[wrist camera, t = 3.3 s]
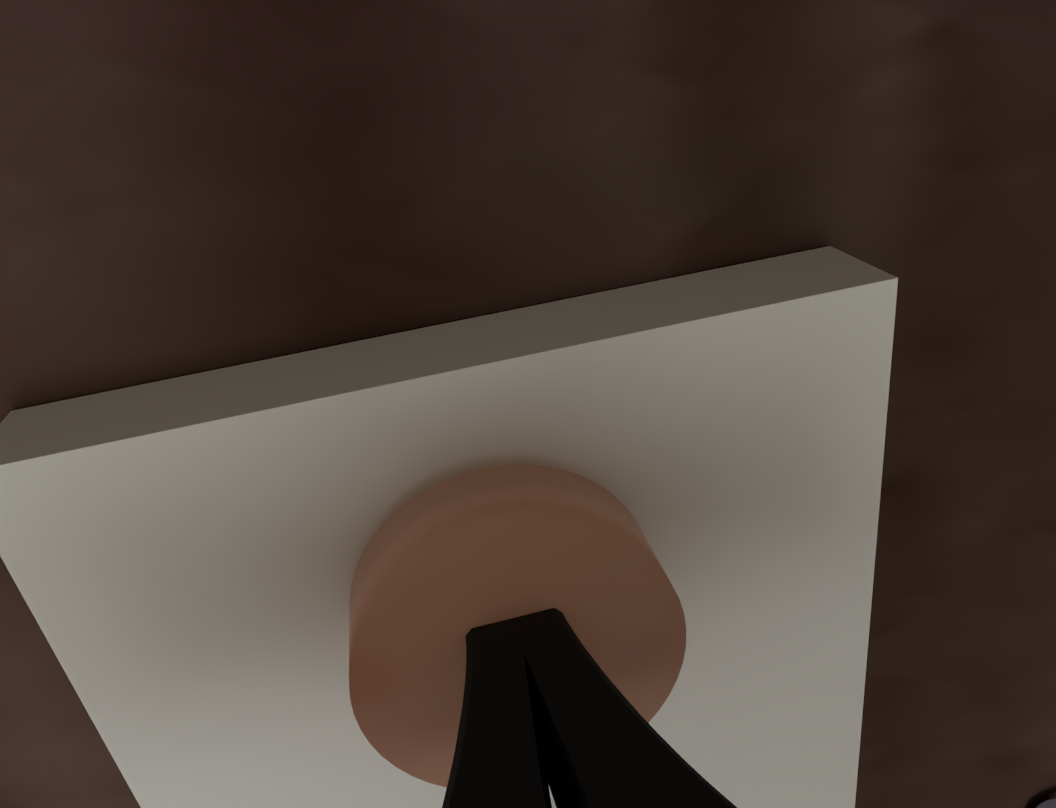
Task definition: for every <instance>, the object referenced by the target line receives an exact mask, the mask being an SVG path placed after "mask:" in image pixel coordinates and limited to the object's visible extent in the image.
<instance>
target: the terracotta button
mask: <svg viewBox="0 0 1056 808" xmlns="http://www.w3.org/2000/svg"><path fill="white" fill-rule="evenodd" d="M551 608H555V609H557V610H559V611H561V612H562V613H563V615H564V616H565V618H566V620H567V622H568V623H569V625H570V626H571V628H572V629H573V631H574V633H575V634H576V635H577V637H578V638H579V640H580V641H581V643H582V644H583V645H584V647H585V648H586V650H587V651H588V652H589V654H590V655H591V656H592V657H593V659H594V660H595V661H596V663H597V664H598V665H599V667H600V668H601V669H602V670H603V672H604V673H605V674H606V675H607V677H608V678H609V679H610V680H611V681H612V683H613V684H614V685H615V686H616V687H617V688H618V690H619V691H620V692H621V693H622V694H623V695H624V696H625V698H626V699H627V700H628V701H629V702H630V703H631V704H632V706H633V707H634V708H635V709H636V710H637V711H638V712H639V714H640V715H641V716H642V717H643V718H644V719H645V720H646V721H647V722H648V723H649V722H650V721H651V719H652V718H653V717H654V716H655V715H656V713H657V712H658V711H659V710H660V708H661V707H662V705H663V704H664V702H665V701H666V699H667V698H668V696H669V695H670V693H671V691H672V689H673V687H674V685H675V683H676V681H677V679H678V676H679V673H680V670H681V667H682V664H683V660H684V654H685V649H686V623H685V616H684V612H683V609H682V605H681V602H680V599H679V597H678V595H677V593H676V591H675V590H674V588H673V586H672V584H671V582H670V580H669V579H668V577H667V575H666V573H665V572H664V570H663V568H662V566H661V565H660V563H659V561H658V559H657V557H656V556H655V554H654V552H653V550H652V549H651V547H650V545H649V543H648V542H647V540H646V538H645V536H644V535H643V533H642V531H641V529H640V527H639V526H638V524H637V522H636V520H635V519H634V517H633V516H632V514H631V513H630V512H629V511H628V509H627V508H626V507H625V505H624V504H623V503H622V502H620V501H619V500H618V499H617V498H616V497H615V496H614V495H613V494H612V493H611V492H609V491H608V490H606V489H605V488H603V487H602V486H600V485H599V484H597V483H595V482H593V481H591V480H589V479H587V478H585V477H583V476H581V475H578V474H575V473H572V472H569V471H566V470H563V469H558V468H553V467H548V466H542V465H527V464H515V465H499V466H493V467H487V468H481V469H477V470H473V471H470V472H466V473H463V474H459V475H457V476H454V477H452V478H449V479H447V480H444V481H442V482H440V483H437V484H436V485H434V486H432V487H430V488H428V489H427V490H425V491H423V492H421V493H419V494H418V495H416V496H415V497H414V498H412V499H411V500H409V501H408V502H407V503H405V504H404V505H402V506H401V507H400V508H399V509H398V510H397V511H396V512H395V513H394V514H392V515H391V516H390V517H389V518H388V519H387V520H386V521H385V522H384V524H383V525H382V526H381V527H380V528H379V529H378V531H377V532H376V533H375V534H374V536H373V537H372V539H371V540H370V542H369V543H368V545H367V546H366V548H365V550H364V551H363V553H362V556H361V558H360V560H359V562H358V564H357V567H356V570H355V573H354V577H353V580H352V584H351V592H350V600H349V692H350V701H351V705H352V709H353V713H354V716H355V718H356V720H357V723H358V725H359V727H360V730H361V731H362V733H363V734H364V736H365V737H366V739H367V740H368V742H369V743H370V744H371V745H372V746H373V747H374V749H375V750H376V751H377V752H378V753H379V754H380V755H381V756H382V757H383V758H385V759H386V760H387V761H389V762H390V763H391V764H393V765H394V766H395V767H397V768H398V769H400V770H402V771H404V772H406V773H407V774H409V775H411V776H413V777H416V778H418V779H421V780H423V781H425V782H428V783H431V784H435V785H439V786H442V787H446V788H447V784H448V780H449V776H450V771H451V767H452V763H453V758H454V753H455V747H456V741H457V735H458V729H459V723H460V717H461V711H462V704H463V695H464V686H465V675H466V638H465V636H466V635H467V633H468V632H469V631H470V630H471V628H475V627H479V626H483V625H487V624H491V623H495V622H499V621H503V620H507V619H511V618H515V617H519V616H523V615H527V614H531V613H535V612H539V611H543V610H547V609H551Z"/></svg>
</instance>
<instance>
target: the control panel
mask: <svg viewBox="0 0 1056 808" xmlns="http://www.w3.org/2000/svg"><path fill="white" fill-rule="evenodd" d="M897 285H898V278H897V277H895V276H893V275H891V274H889V273H887V272H885V271H882V270H880V269H878V268H876V267H874V266H872V265H870V264H867V263H865V262H863V261H861V260H859V259H857V258H855V257H852V256H850V255H848V254H846V253H844V252H842V251H840V250H838V249H835V248H833V247H831V246H827V247H822V248H817V249H812V250H807V251H802V252H797V253H792V254H787V255H782V256H777V257H772V258H767V259H762V260H757V261H752V262H747V263H742V264H737V265H733V266H728V267H723V268H718V269H713V270H708V271H703V272H698V273H693V274H688V275H683V276H678V277H673V278H668V279H663V280H658V281H653V282H648V283H643V284H638V285H633V286H628V287H623V288H618V289H613V290H608V291H603V292H598V293H593V294H589V295H584V296H579V297H574V298H569V299H564V300H559V301H554V302H549V303H544V304H539V305H534V306H529V307H524V308H519V309H514V310H509V311H504V312H499V313H494V314H489V315H484V316H479V317H474V318H469V319H464V320H459V321H454V322H449V323H445V324H440V325H435V326H430V327H425V328H420V329H415V330H410V331H405V332H400V333H395V334H390V335H385V336H380V337H375V338H370V339H365V340H360V341H355V342H350V343H345V344H340V345H335V346H330V347H325V348H320V349H315V350H310V351H305V352H301V353H296V354H291V355H286V356H281V357H276V358H271V359H266V360H261V361H256V362H251V363H246V364H241V365H236V366H231V367H226V368H221V369H216V370H211V371H206V372H201V373H196V374H191V375H186V376H181V377H176V378H171V379H166V380H161V381H157V382H152V383H147V384H142V385H137V386H132V387H127V388H122V389H117V390H112V391H107V392H102V393H97V394H92V395H87V396H82V397H77V398H72V399H67V400H62V401H57V402H52V403H47V404H42V405H37V406H32V407H27V408H22V409H17V410H13V411H11V412H10V413H9V414H8V415H7V416H6V417H5V418H4V419H3V421H2V422H1V423H0V556H1V558H2V560H3V562H4V564H5V565H6V567H7V569H8V571H9V572H10V574H11V576H12V578H13V580H14V581H15V583H16V585H17V587H18V589H19V590H20V592H21V594H22V596H23V598H24V599H25V601H26V603H27V605H28V606H29V608H30V610H31V612H32V614H33V615H34V617H35V619H36V621H37V623H38V624H39V626H40V628H41V630H42V632H43V633H44V635H45V637H46V639H47V641H48V642H49V644H50V646H51V648H52V649H53V651H54V653H55V655H56V657H57V658H58V660H59V662H60V664H61V666H62V667H63V669H64V671H65V673H66V675H67V676H68V678H69V680H70V682H71V683H72V685H73V687H74V689H75V691H76V692H77V694H78V696H79V698H80V700H81V701H82V703H83V705H84V707H85V709H86V710H87V712H88V714H89V716H90V717H91V719H92V721H93V723H94V725H95V726H96V728H97V730H98V732H99V734H100V735H101V737H102V739H103V741H104V743H105V744H106V746H107V748H108V750H109V752H110V753H111V755H112V757H113V759H114V760H115V762H116V764H117V766H118V768H119V769H120V771H121V773H122V775H123V777H124V778H125V780H126V782H127V784H128V786H129V787H130V789H131V791H132V793H133V794H134V796H135V798H136V800H137V802H138V803H139V805H140V807H141V808H442V806H443V801H444V797H445V793H446V789H447V788H446V787H442V786H439V785H435V784H431V783H428V782H425V781H423V780H421V779H418V778H416V777H413V776H411V775H409V774H407V773H406V772H404V771H402V770H400V769H398V768H397V767H395V766H394V765H393V764H391V763H390V762H389V761H387V760H386V759H385V758H383V757H382V756H381V755H380V754H379V753H378V752H377V751H376V750H375V749H374V747H373V746H372V745H371V744H370V743H369V742H368V740H367V739H366V737H365V736H364V734H363V733H362V731H361V730H360V727H359V725H358V723H357V720H356V718H355V716H354V713H353V709H352V705H351V701H350V692H349V600H350V592H351V584H352V580H353V577H354V573H355V570H356V567H357V564H358V562H359V560H360V558H361V556H362V553H363V551H364V550H365V548H366V546H367V545H368V543H369V542H370V540H371V539H372V537H373V536H374V534H375V533H376V532H377V531H378V529H379V528H380V527H381V526H382V525H383V524H384V522H385V521H386V520H387V519H388V518H389V517H390V516H391V515H392V514H394V513H395V512H396V511H397V510H398V509H399V508H400V507H401V506H402V505H404V504H405V503H407V502H408V501H409V500H411V499H412V498H414V497H415V496H416V495H418V494H419V493H421V492H423V491H425V490H427V489H428V488H430V487H432V486H434V485H436V484H437V483H440V482H442V481H444V480H447V479H449V478H452V477H454V476H457V475H459V474H463V473H466V472H470V471H473V470H477V469H481V468H487V467H493V466H499V465H515V464H527V465H542V466H548V467H553V468H558V469H563V470H566V471H569V472H572V473H575V474H578V475H581V476H583V477H585V478H587V479H589V480H591V481H593V482H595V483H597V484H599V485H600V486H602V487H603V488H605V489H606V490H608V491H609V492H611V493H612V494H613V495H614V496H615V497H616V498H617V499H618V500H619V501H620V502H622V503H623V504H624V505H625V507H626V508H627V509H628V511H629V512H630V513H631V514H632V516H633V517H634V519H635V520H636V522H637V524H638V526H639V527H640V529H641V531H642V533H643V535H644V536H645V538H646V540H647V542H648V543H649V545H650V547H651V549H652V550H653V552H654V554H655V556H656V557H657V559H658V561H659V563H660V565H661V566H662V568H663V570H664V572H665V573H666V575H667V577H668V579H669V580H670V582H671V584H672V586H673V588H674V590H675V591H676V593H677V595H678V597H679V599H680V602H681V605H682V609H683V612H684V616H685V623H686V649H685V654H684V660H683V664H682V667H681V670H680V673H679V676H678V679H677V681H676V683H675V685H674V687H673V689H672V691H671V693H670V695H669V696H668V698H667V699H666V701H665V702H664V704H663V705H662V707H661V708H660V710H659V711H658V712H657V713H656V715H655V716H654V717H653V718H652V719H651V721H650V722H649V724H650V725H651V726H652V728H653V729H654V730H655V731H656V732H657V733H658V734H659V735H660V736H661V737H662V738H663V739H664V740H665V741H666V742H667V743H668V744H669V745H670V746H671V747H672V748H673V749H674V750H675V751H676V752H677V753H678V754H679V755H680V756H681V757H682V758H683V759H684V760H685V761H686V762H687V763H688V764H689V765H690V766H691V767H692V768H694V769H695V770H696V771H697V772H698V773H699V774H700V775H701V776H702V777H703V778H704V779H705V780H706V781H708V782H709V783H710V784H711V785H712V786H713V787H714V788H715V789H717V790H718V791H719V792H720V793H721V794H722V795H723V796H725V797H726V798H727V799H728V800H729V801H730V802H731V803H733V804H734V805H735V806H736V807H737V808H855V798H856V786H857V774H858V762H859V750H860V737H861V725H862V713H863V701H864V688H865V676H866V664H867V652H868V640H869V627H870V615H871V603H872V591H873V579H874V566H875V554H876V542H877V530H878V517H879V505H880V493H881V481H882V469H883V456H884V444H885V432H886V420H887V408H888V395H889V383H890V371H891V359H892V346H893V334H894V322H895V310H896V298H897ZM548 785H549V784H548ZM549 792H550V798H551V805H552V808H556V805H555V802H554V799H553V796H552V793H551V790H550V787H549Z"/></svg>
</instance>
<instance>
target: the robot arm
mask: <svg viewBox="0 0 1056 808" xmlns="http://www.w3.org/2000/svg"><path fill="white" fill-rule="evenodd" d="M465 638H466V675H465V686H464V695H463V704H462V711H461V717H460V723H459V729H458V735H457V741H456V747H455V753H454V758H453V763H452V767H451V771H450V776H449V780H448V784H447V789H446V793H445V797H444V801H443V806H442V808H552V805H551V798H550V792H549V787H550V790H551V793H552V796H553V799H554V802H555V805H556V808H737V807H736V806H735V805H734V804H733V803H731V802H730V801H729V800H728V799H727V798H726V797H725V796H723V795H722V794H721V793H720V792H719V791H718V790H717V789H715V788H714V787H713V786H712V785H711V784H710V783H709V782H708V781H706V780H705V779H704V778H703V777H702V776H701V775H700V774H699V773H698V772H697V771H696V770H695V769H694V768H692V767H691V766H690V765H689V764H688V763H687V762H686V761H685V760H684V759H683V758H682V757H681V756H680V755H679V754H678V753H677V752H676V751H675V750H674V749H673V748H672V747H671V746H670V745H669V744H668V743H667V742H666V741H665V740H664V739H663V738H662V737H661V736H660V735H659V734H658V733H657V732H656V731H655V730H654V729H653V728H652V726H651V725H650V724H649V723H648V722H647V721H646V720H645V719H644V718H643V717H642V716H641V715H640V714H639V712H638V711H637V710H636V709H635V708H634V707H633V706H632V704H631V703H630V702H629V701H628V700H627V699H626V698H625V696H624V695H623V694H622V693H621V692H620V691H619V690H618V688H617V687H616V686H615V685H614V684H613V683H612V681H611V680H610V679H609V678H608V677H607V675H606V674H605V673H604V672H603V670H602V669H601V668H600V667H599V665H598V664H597V663H596V661H595V660H594V659H593V657H592V656H591V655H590V654H589V652H588V651H587V650H586V648H585V647H584V645H583V644H582V643H581V641H580V640H579V638H578V637H577V635H576V634H575V633H574V631H573V629H572V628H571V626H570V625H569V623H568V622H567V620H566V618H565V616H564V615H563V613H562V612H561V611H559V610H557V609H555V608H551V609H547V610H543V611H539V612H535V613H531V614H527V615H523V616H519V617H515V618H511V619H507V620H503V621H499V622H495V623H491V624H487V625H483V626H479V627H475V628H471V630H470V631H469V632H468V633H467V635H466V636H465ZM548 784H549V785H548ZM1036 808H1056V798H1052V799H1049V800H1046V801H1044V802H1042V803H1041V804H1039V805H1038V806H1037V807H1036Z"/></svg>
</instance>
